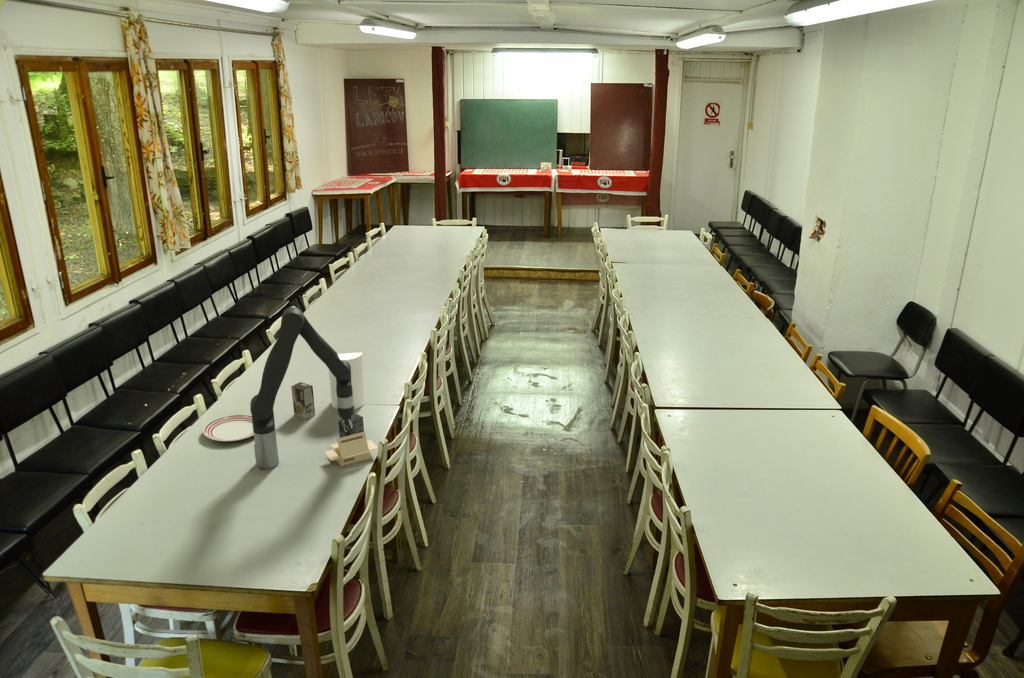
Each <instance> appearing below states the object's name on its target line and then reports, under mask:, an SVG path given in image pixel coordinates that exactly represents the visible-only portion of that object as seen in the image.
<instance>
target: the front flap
mask: <svg viewBox="0 0 1024 678" xmlns="http://www.w3.org/2000/svg"><path fill="white" fill-rule="evenodd" d="M367 441H368V440H367V436H366V432H365V431H364V432H361V433H357V434H353V435H349V436H345V437H341V438H340V437H338V438H336V443H338V446H339V450H340V454H341V458H345V457H348V456H352V455H356V454H360V453H363V452H367V451H369V448H368V444H367Z"/></svg>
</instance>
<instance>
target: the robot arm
mask: <svg viewBox="0 0 1024 678" xmlns="http://www.w3.org/2000/svg"><path fill="white" fill-rule="evenodd" d="M280 320H281V322H280V328H279V331H278V335H277V339H276V340H275V343H274V345H273V346H272V348H271V350H270V352H269V354H268V356H267V359H266V361H265V364H264V367H263V372H262V377H261V383H260V387H259V390H258V393H257V394H255V395H254V396H253V397H252V399H250V407H249V408H250V409H249V410H250V415H252V423H253V432H254V435H253V438H254V445H253V449H254V457H255V464H256V465H257V468H258V469H259V470H269V469H273V468H275V467H277V466H278V465H279V464H280V461H279V460H280V458H279V452H278V451H279V449H278V442H277V441H278V440H277V434H276V433H277V432H276V422H275V421H276V420H275V415H274V414H275V413H274V407H275V406H274V405H275V402H276V398H277V395H278V392H279V389H280V387H281V386H282V383H283V381H284V378H285V376H286V373H287V371H288V368H289V365H290V362H291V359H292V355H293V351H294V347H295V344H296V342H297V339H298V337H299V335H300V337H302V338H303V340H304V341H305V342H306V343H307V345H308V346H309V348H310V349H311V351H312V352H313V353H314V354H315V356H317V357H318V359H319V360H320V361H321V362H323V364H325V366H326V367H327V369H328V371H329V370H330V371H331V373H332V374H333V375H334V376H335V377H336V393H337V409H336V412H337V415H338V416H339V420H341V424H342V427H343V428H344V431H345V436H349V435H351V432H352V431H353V429H354V424H352V417H351V416H352V415H353V414H355V411H356V409H354V398H353V391H352V384H351V366H350V364H349V363H348V362H347V361H345V360H340V358H339V357H338V354H339V353H337V351H336V350H335V348H333V347H332V346H331V345H330V344H329V343H328V342H327V341H326V340H325V338H323V337H322V336H321V335H320V334H319V333H318V332H317V331H316V328H314V326H312V325H311V323H310V322H309V320H308V318H307V317H306V315H305V314H304V313H303V311H302V310H301V309H300V308H298V307H295V306H290V307H287V308H286V309H284V310H283V312H282V314H281V319H280Z"/></svg>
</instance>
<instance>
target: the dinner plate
mask: <svg viewBox="0 0 1024 678" xmlns="http://www.w3.org/2000/svg"><path fill="white" fill-rule="evenodd" d="M202 431H203V435H204V437H206V438H208V439H210V440H213V441H216V442H217V441H218V442H228V443H229V442H236V441H242V440H246V439H248V438H250V437H254V432H253V423H252V414H246V413H245V414H243V413H242V414H238V413H237V414H230V415H229V414H228V415H223V416H220V417H218V418H215V419H213V420H210V421H209V422H208V423H206V425H204V427H203V429H202Z"/></svg>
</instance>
